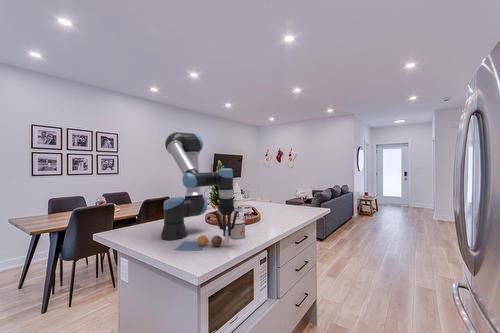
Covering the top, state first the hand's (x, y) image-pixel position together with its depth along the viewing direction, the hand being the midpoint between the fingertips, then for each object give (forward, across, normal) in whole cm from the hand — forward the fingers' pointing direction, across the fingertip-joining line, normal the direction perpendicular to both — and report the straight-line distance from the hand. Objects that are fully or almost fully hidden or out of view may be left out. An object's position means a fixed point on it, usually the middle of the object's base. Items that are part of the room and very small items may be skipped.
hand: (227, 242), depth 124 cm
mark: (+2, -19, 0) cm, 19 cm away
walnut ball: (-1, -6, 0) cm, 6 cm away
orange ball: (-1, -13, 0) cm, 13 cm away
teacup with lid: (+2, +3, +18) cm, 18 cm away
